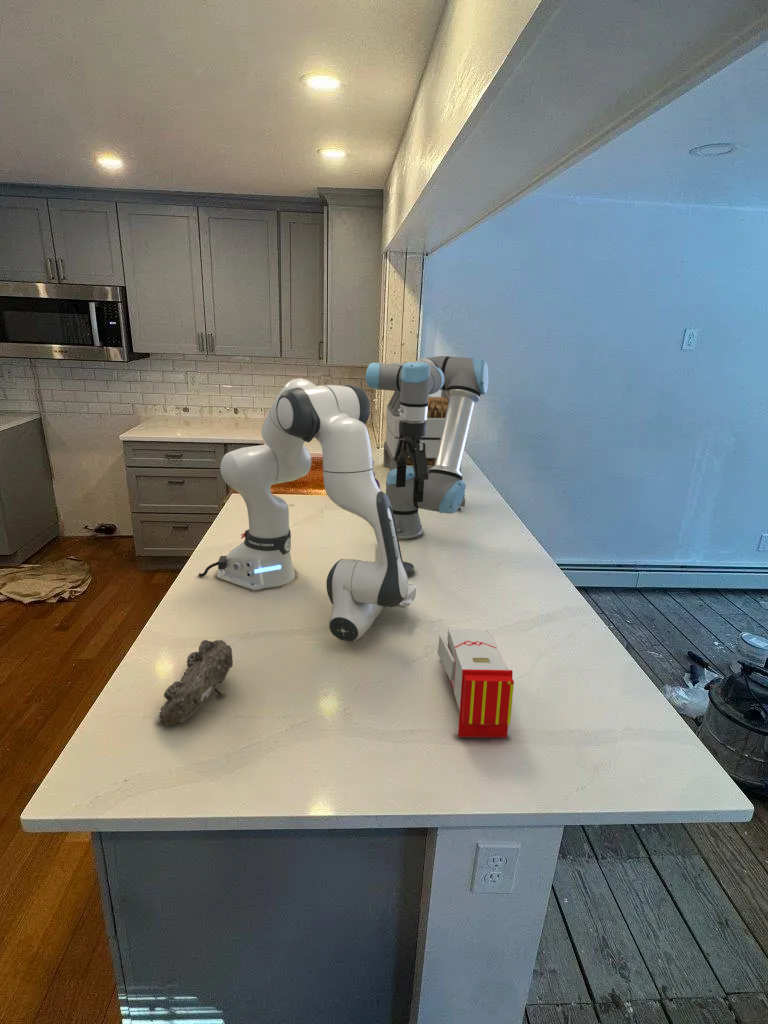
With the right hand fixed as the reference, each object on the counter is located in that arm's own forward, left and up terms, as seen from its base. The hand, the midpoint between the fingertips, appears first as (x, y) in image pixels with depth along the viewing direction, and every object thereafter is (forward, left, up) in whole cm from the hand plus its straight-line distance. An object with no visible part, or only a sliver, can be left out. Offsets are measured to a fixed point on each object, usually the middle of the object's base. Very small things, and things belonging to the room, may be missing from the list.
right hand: (408, 494), depth 163 cm
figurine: (-63, +38, -25) cm, 77 cm away
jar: (+9, -16, -25) cm, 31 cm away
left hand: (+9, -15, -18) cm, 25 cm away
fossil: (+17, -71, -25) cm, 77 cm away
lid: (0, -1, -23) cm, 23 cm away
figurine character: (-33, +58, -25) cm, 71 cm away
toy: (+50, -27, -25) cm, 62 cm away
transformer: (-76, +80, -25) cm, 114 cm away
